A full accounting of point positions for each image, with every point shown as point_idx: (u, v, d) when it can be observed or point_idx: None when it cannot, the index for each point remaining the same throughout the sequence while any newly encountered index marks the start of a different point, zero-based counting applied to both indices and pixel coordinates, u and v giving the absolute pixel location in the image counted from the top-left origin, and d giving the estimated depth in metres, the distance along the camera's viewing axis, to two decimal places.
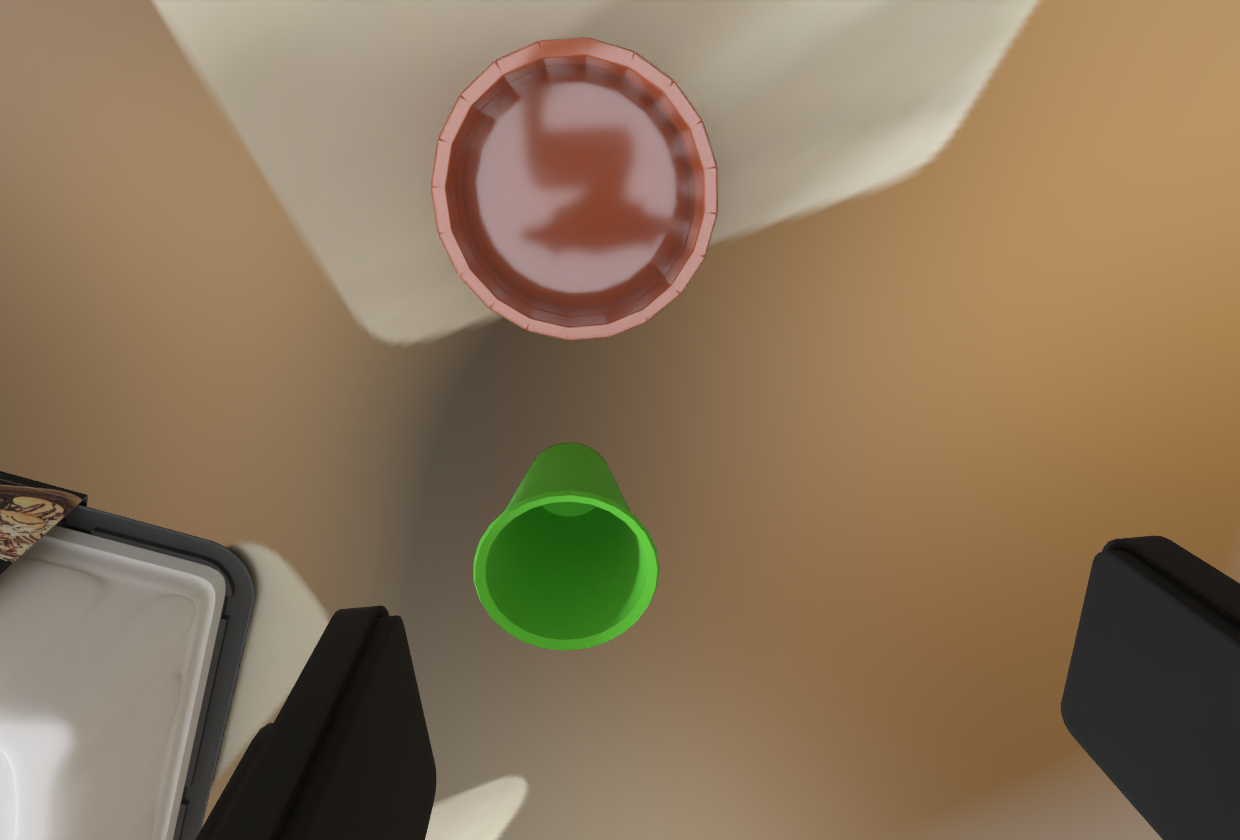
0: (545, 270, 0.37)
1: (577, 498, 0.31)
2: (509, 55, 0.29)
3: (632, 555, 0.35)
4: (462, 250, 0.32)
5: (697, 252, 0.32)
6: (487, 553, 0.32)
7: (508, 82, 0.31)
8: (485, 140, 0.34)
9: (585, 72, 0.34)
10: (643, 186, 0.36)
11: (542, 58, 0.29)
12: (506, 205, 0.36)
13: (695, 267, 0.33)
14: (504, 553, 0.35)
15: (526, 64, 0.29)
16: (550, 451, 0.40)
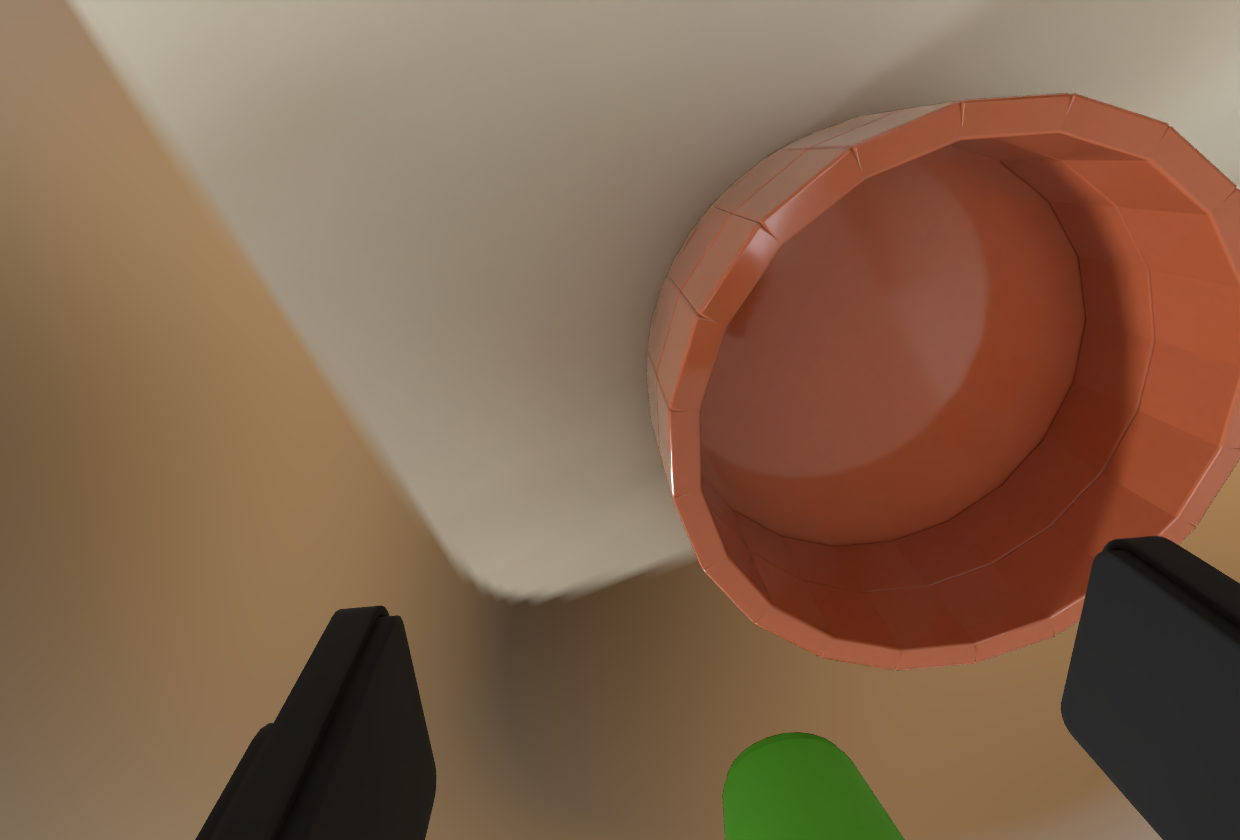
0: (800, 488, 0.21)
1: None
2: (886, 134, 0.12)
3: None
4: (714, 523, 0.15)
5: (1185, 518, 0.16)
6: None
7: None
8: None
9: None
10: (1000, 347, 0.19)
11: (957, 140, 0.12)
12: (746, 383, 0.19)
13: None
14: None
15: (922, 155, 0.12)
16: (779, 770, 0.23)
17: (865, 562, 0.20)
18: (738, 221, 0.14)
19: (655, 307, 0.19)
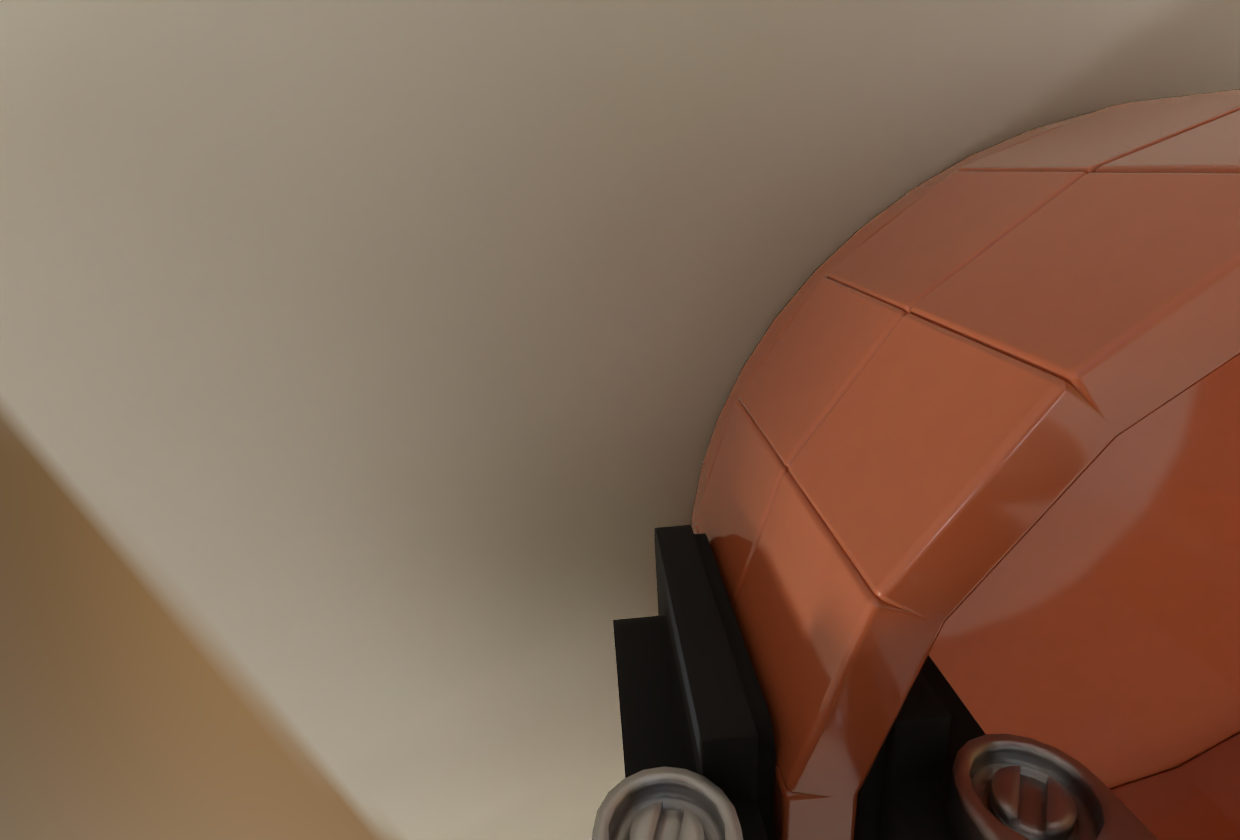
0: None
1: None
2: None
3: None
4: None
5: None
6: None
7: None
8: None
9: None
10: None
11: None
12: None
13: None
14: None
15: None
16: None
17: None
18: (947, 343, 0.06)
19: None
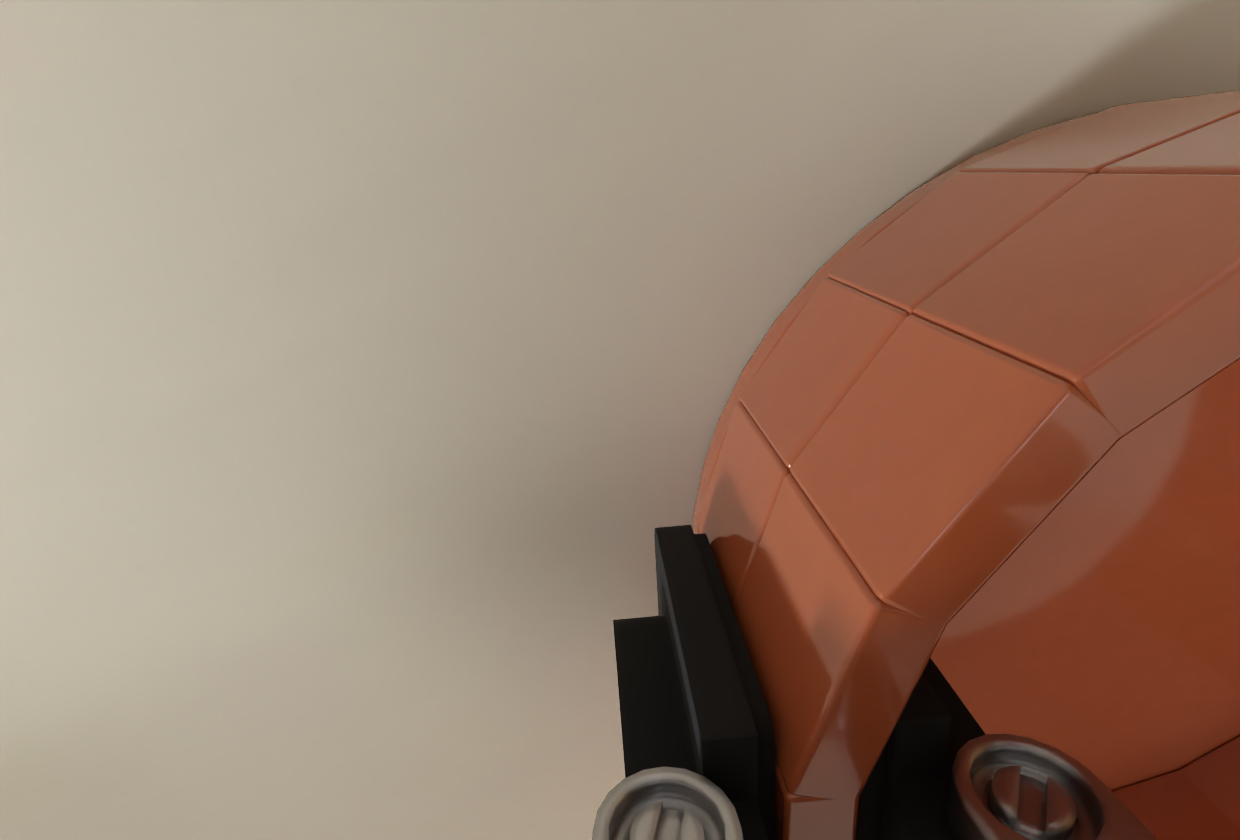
0: None
1: None
2: None
3: None
4: None
5: None
6: None
7: None
8: None
9: None
10: None
11: None
12: None
13: None
14: None
15: None
16: None
17: None
18: (949, 344, 0.06)
19: (710, 446, 0.11)
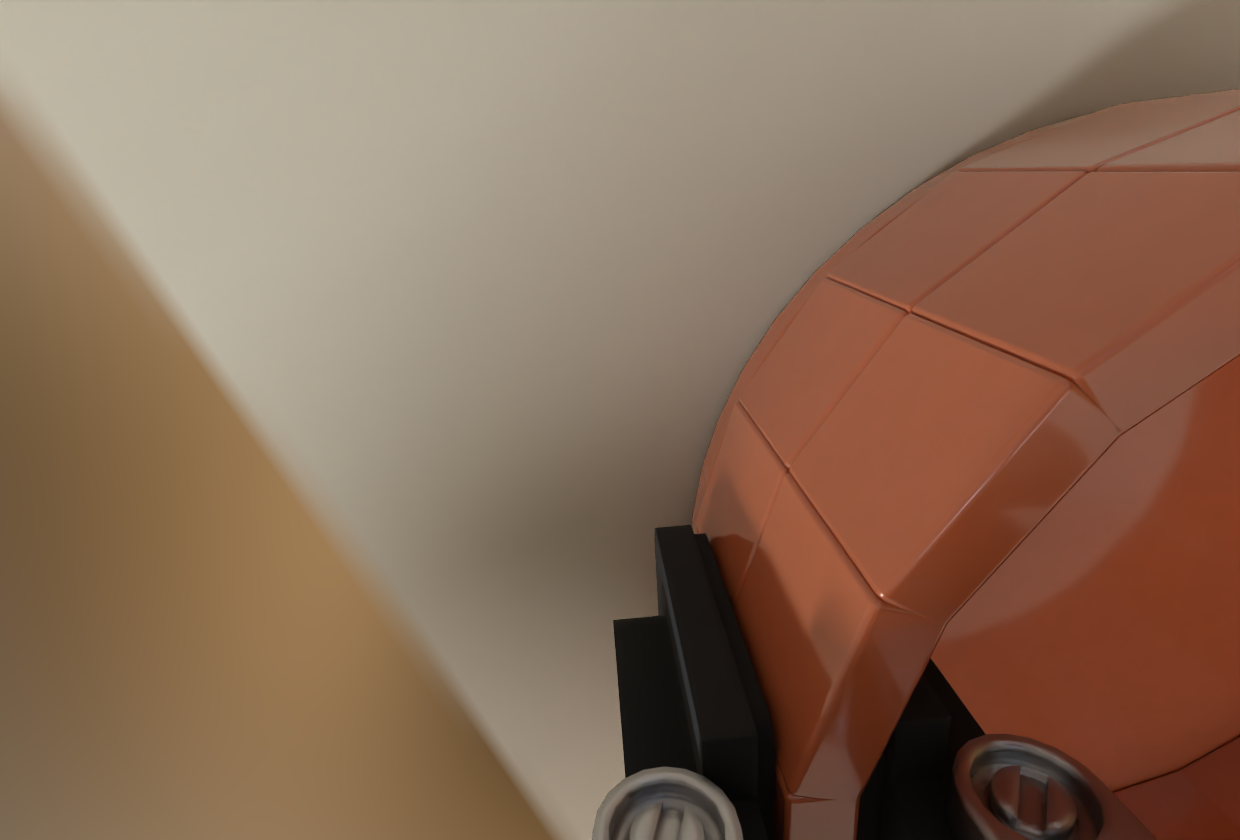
0: None
1: None
2: None
3: None
4: None
5: None
6: None
7: None
8: None
9: None
10: None
11: None
12: None
13: None
14: None
15: None
16: None
17: None
18: (949, 342, 0.06)
19: (709, 447, 0.11)
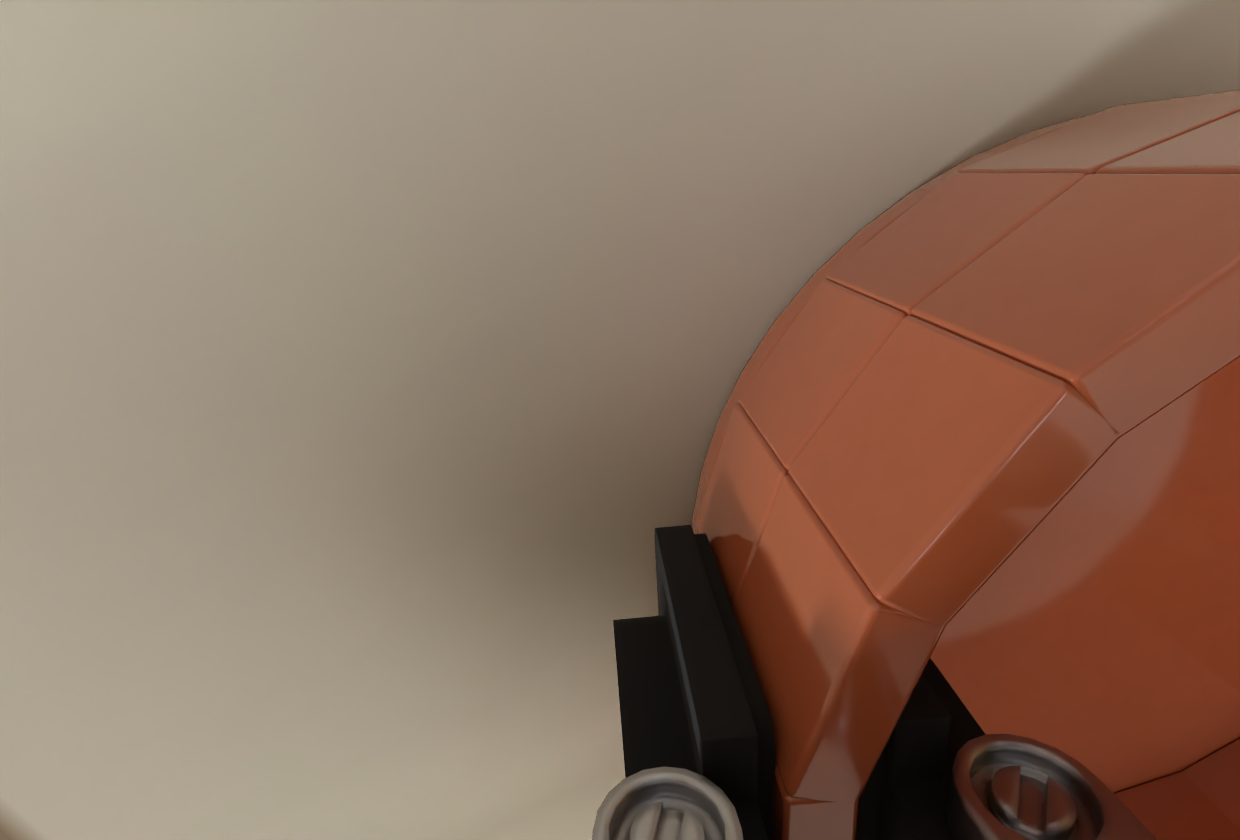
0: None
1: None
2: None
3: None
4: None
5: None
6: None
7: None
8: None
9: None
10: None
11: None
12: None
13: None
14: None
15: None
16: None
17: None
18: (947, 344, 0.06)
19: None
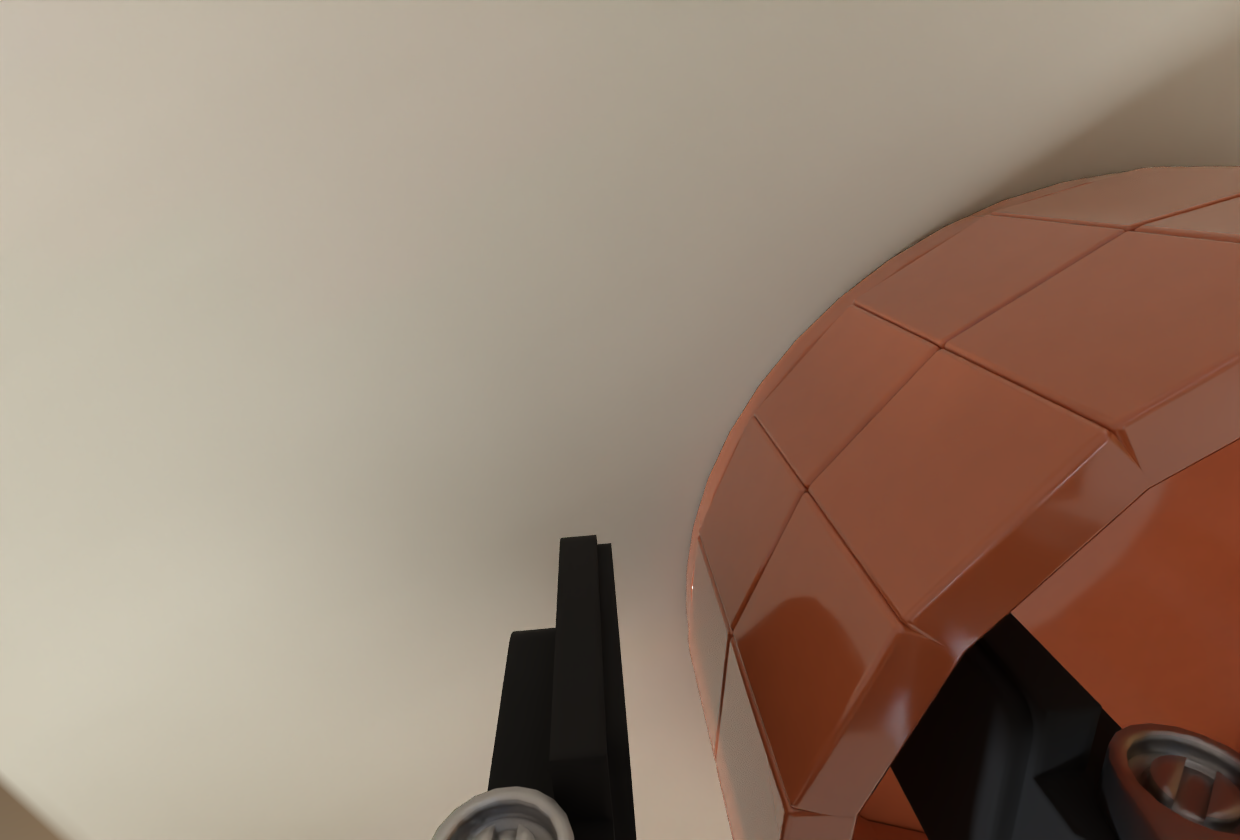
0: None
1: None
2: None
3: None
4: None
5: None
6: None
7: None
8: None
9: None
10: None
11: None
12: None
13: None
14: None
15: None
16: None
17: None
18: (984, 381, 0.06)
19: None
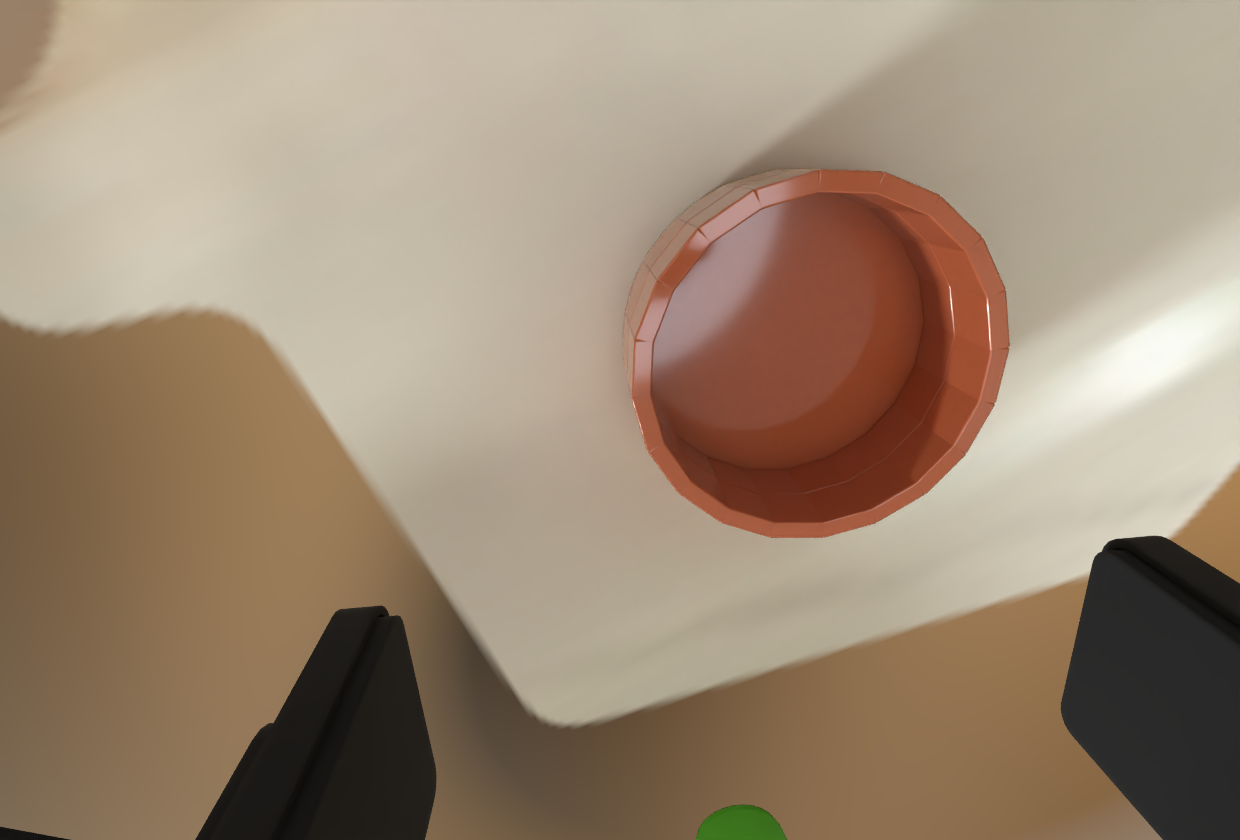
0: (724, 422, 0.29)
1: None
2: (775, 184, 0.21)
3: None
4: (657, 419, 0.24)
5: (958, 447, 0.25)
6: None
7: None
8: None
9: (824, 192, 0.26)
10: (866, 335, 0.28)
11: (817, 191, 0.21)
12: (691, 342, 0.28)
13: (951, 464, 0.25)
14: None
15: (795, 198, 0.21)
16: (729, 832, 0.36)
17: (764, 478, 0.29)
18: (688, 227, 0.23)
19: (633, 283, 0.27)
